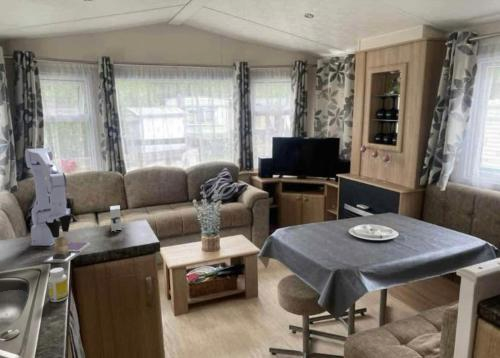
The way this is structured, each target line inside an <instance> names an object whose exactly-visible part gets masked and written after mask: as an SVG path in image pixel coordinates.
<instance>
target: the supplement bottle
mask: <svg viewBox="0 0 500 358" xmlns="http://www.w3.org/2000/svg"><path fill="white" fill-rule="evenodd" d="M64 270H65V269H64V268H63V267H55V268H52V269H50V270H49V277H48V279H47V285H48V287H47V288H48V297H49V301H50V302H52V303H57V302H62V301H66V299H68V298H69V290H68V289H69V288H68V287H69V286H68V279H67V278H68V277H67V275H66V274H64V272H65V271H64Z"/></svg>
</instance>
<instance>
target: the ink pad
mask: <svg viewBox="0 0 500 358" xmlns="http://www.w3.org/2000/svg"><path fill="white" fill-rule="evenodd" d="M67 244H68V251H71V252H80V253H79V254H81V253H83V251H85V250H86V249H87V248H88V247H90V246H91V242H89V241H88V242H87V241H86V242H85V241H83V242H81V241H80V242H79V241H78V242H75V241H74V242H73V241H69V242H68V241H67Z"/></svg>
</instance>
